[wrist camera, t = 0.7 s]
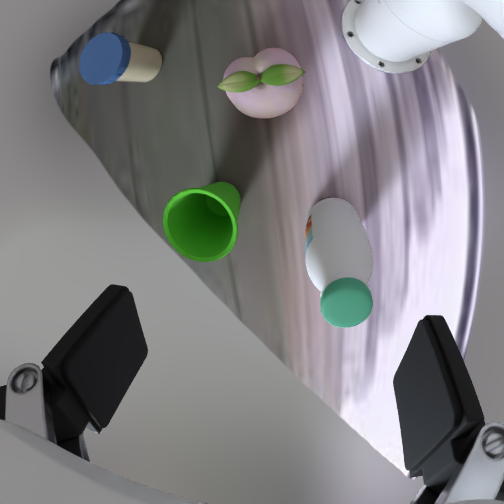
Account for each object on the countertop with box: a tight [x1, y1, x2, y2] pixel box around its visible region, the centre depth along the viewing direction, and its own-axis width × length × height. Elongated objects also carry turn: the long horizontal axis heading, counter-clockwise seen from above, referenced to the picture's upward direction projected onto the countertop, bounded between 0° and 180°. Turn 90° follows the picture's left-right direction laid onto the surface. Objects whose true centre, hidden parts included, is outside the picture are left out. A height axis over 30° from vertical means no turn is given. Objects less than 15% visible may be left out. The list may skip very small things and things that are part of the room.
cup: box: [163, 182, 241, 262], centre depth 38 cm, size 9×9×11 cm
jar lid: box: [80, 32, 131, 85], centre depth 26 cm, size 7×7×2 cm
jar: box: [116, 40, 162, 82], centre depth 30 cm, size 6×6×11 cm
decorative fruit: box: [218, 48, 305, 118], centre depth 30 cm, size 9×8×10 cm
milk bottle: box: [305, 198, 373, 328], centre depth 33 cm, size 8×8×20 cm
